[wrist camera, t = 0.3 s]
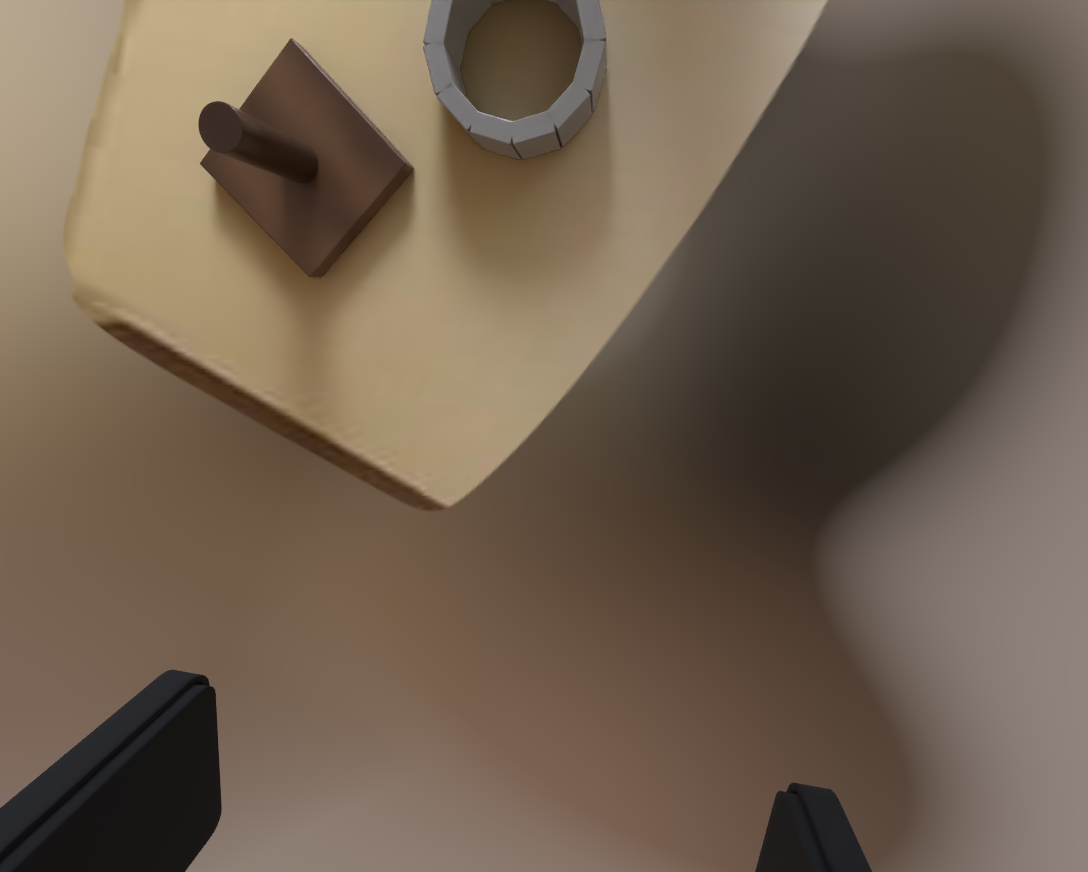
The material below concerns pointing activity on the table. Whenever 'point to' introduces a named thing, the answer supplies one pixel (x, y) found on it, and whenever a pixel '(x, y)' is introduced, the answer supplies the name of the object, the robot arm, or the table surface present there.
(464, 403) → the table surface
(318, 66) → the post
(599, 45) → the tape roll
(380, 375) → the table surface
